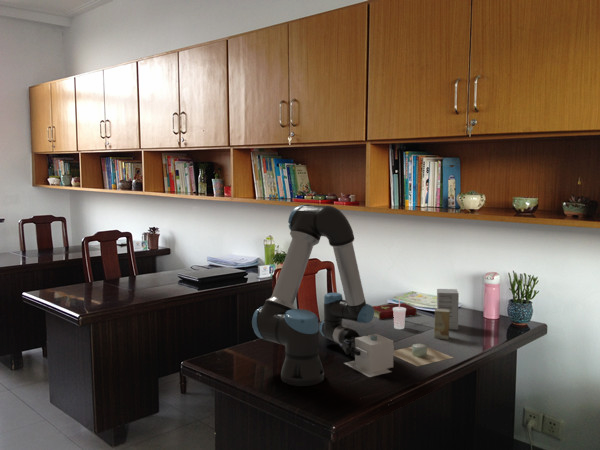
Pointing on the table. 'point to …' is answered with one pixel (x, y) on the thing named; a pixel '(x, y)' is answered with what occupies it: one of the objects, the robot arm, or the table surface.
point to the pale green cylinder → (419, 350)
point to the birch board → (418, 361)
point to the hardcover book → (387, 310)
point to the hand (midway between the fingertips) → (380, 352)
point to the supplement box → (449, 305)
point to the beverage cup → (399, 317)
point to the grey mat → (365, 372)
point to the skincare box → (441, 324)
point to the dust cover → (375, 352)
